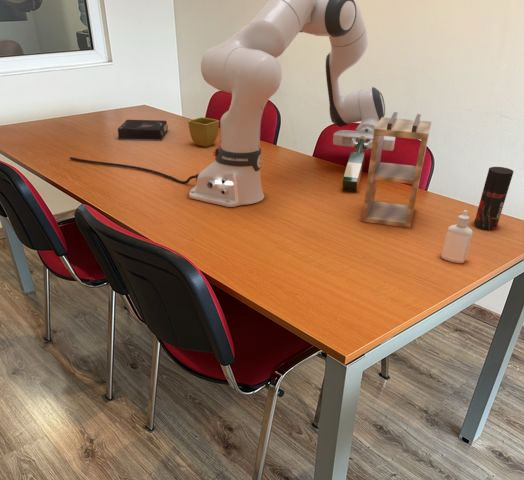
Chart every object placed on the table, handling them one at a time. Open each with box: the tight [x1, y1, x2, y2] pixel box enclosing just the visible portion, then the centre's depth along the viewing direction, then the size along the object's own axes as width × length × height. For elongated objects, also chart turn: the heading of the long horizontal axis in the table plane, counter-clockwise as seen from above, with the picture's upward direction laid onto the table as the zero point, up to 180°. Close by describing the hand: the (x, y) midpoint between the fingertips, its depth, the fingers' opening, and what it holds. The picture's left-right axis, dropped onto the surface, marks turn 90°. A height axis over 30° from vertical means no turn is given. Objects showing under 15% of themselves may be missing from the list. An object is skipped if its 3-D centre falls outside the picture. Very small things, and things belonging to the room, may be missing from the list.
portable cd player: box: [117, 119, 169, 142], centre depth 211 cm, size 16×17×4 cm
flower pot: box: [187, 116, 220, 148], centre depth 199 cm, size 9×9×9 cm
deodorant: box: [473, 166, 514, 231], centre depth 136 cm, size 6×6×15 cm
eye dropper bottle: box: [440, 209, 474, 264], centre depth 119 cm, size 4×6×12 cm
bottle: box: [342, 136, 366, 193], centre depth 163 cm, size 20×4×4 cm, turn 162°
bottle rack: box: [361, 111, 432, 229], centre depth 138 cm, size 13×14×26 cm
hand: (360, 146), depth 165 cm, fingers closed on bottle, 2 cm apart
